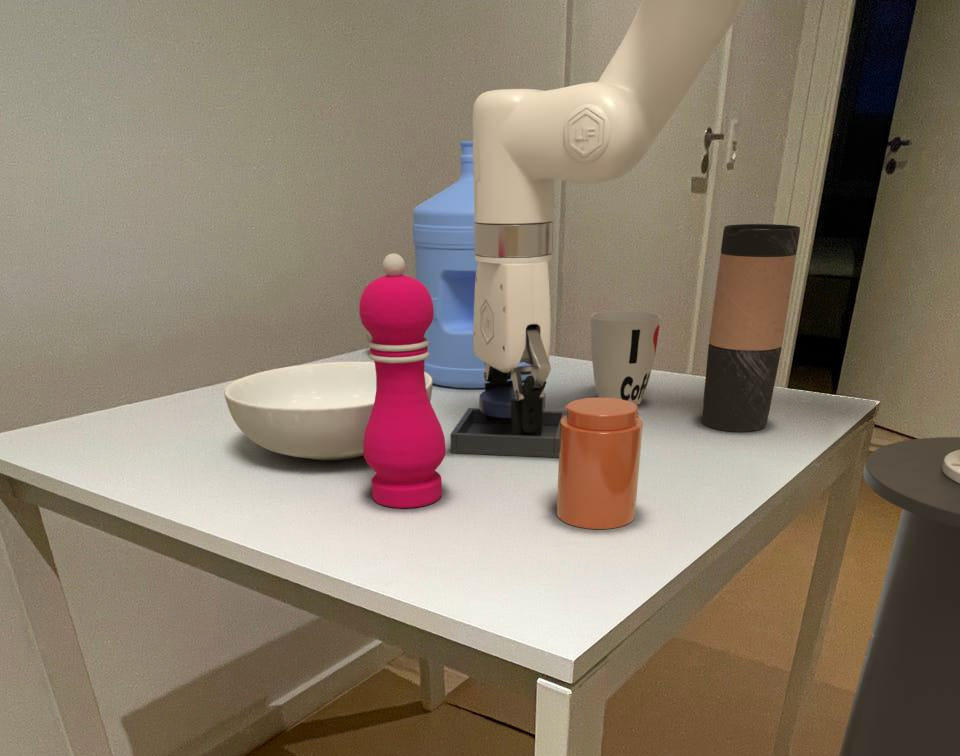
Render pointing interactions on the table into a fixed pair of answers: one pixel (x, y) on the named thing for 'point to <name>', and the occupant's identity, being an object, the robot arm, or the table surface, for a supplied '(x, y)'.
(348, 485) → the table surface
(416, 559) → the table surface
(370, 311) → the pepper mill
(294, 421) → the serving bowl
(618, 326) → the cup
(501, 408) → the jar lid
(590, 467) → the jar
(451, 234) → the water jug
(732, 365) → the travel mug
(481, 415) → the tray
